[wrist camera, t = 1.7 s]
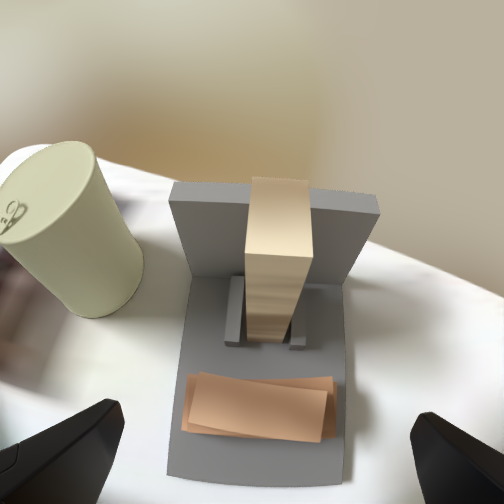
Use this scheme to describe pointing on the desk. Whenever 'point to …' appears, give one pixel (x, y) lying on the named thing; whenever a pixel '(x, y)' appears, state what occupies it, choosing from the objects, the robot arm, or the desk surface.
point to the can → (70, 230)
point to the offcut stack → (261, 407)
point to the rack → (260, 353)
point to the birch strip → (276, 255)
